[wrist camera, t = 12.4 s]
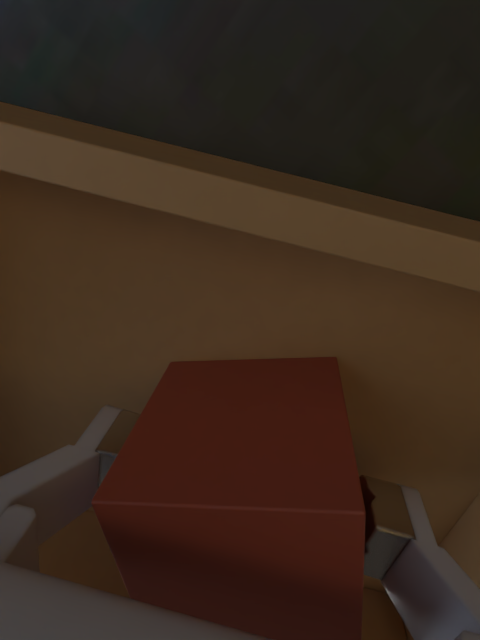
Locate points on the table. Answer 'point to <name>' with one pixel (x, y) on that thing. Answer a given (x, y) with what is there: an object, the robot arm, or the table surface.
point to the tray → (231, 313)
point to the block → (242, 499)
